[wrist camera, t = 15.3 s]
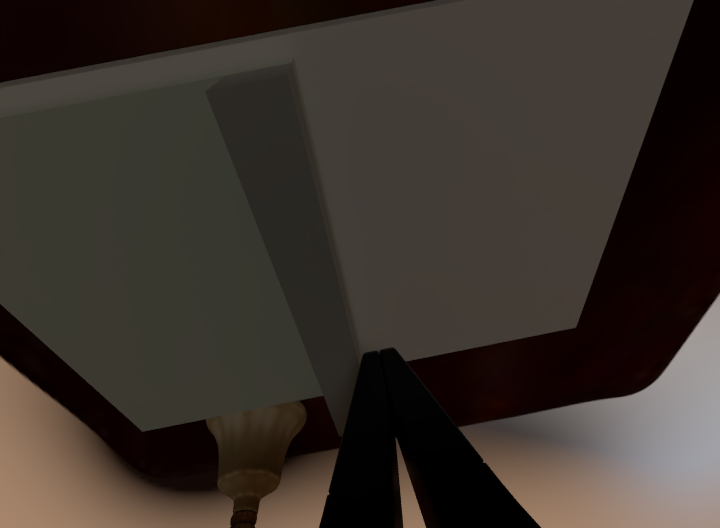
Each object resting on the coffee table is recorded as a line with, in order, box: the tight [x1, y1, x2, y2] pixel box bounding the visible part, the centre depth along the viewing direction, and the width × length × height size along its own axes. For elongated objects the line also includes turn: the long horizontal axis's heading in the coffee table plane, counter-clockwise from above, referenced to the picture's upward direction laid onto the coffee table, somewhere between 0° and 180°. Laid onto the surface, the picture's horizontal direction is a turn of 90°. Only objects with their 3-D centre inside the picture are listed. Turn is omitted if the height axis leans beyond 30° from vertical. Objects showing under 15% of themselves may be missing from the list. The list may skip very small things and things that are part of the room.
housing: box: [0, 0, 693, 361], centre depth 15 cm, size 22×14×6 cm, turn 99°
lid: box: [0, 58, 363, 436], centre depth 11 cm, size 10×13×3 cm
